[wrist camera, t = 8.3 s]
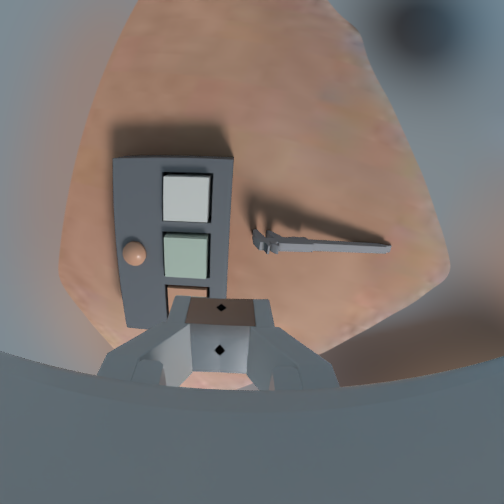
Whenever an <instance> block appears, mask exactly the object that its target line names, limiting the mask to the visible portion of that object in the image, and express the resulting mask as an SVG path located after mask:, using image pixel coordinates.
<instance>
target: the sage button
mask: <svg viewBox="0 0 504 504" xmlns="http://www.w3.org/2000/svg"><path fill="white" fill-rule="evenodd" d="M208 246H209V233H191V232H167V233H166V235H165V236H164V260H165V277H179V278H197V279H206V277H207V271H208Z"/></svg>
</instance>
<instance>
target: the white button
mask: <svg viewBox="0 0 504 504" xmlns="http://www.w3.org/2000/svg"><path fill="white" fill-rule="evenodd" d="M210 188H211V174H186V173H169V174H167V175H165V176H164V178H163V221H186V222H207V221H208V218H209V213H210Z"/></svg>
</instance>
